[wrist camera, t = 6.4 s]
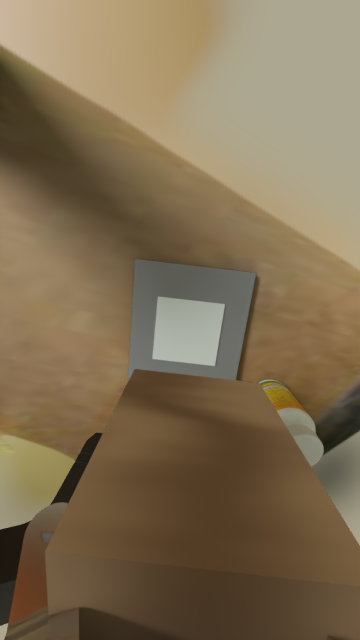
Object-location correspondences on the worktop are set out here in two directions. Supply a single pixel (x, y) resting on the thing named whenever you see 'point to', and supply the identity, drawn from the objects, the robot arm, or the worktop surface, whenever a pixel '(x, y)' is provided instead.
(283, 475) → the tan wooden block
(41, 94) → the worktop surface
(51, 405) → the worktop surface
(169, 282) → the grey flat plate
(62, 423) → the worktop surface
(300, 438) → the supplement bottle
